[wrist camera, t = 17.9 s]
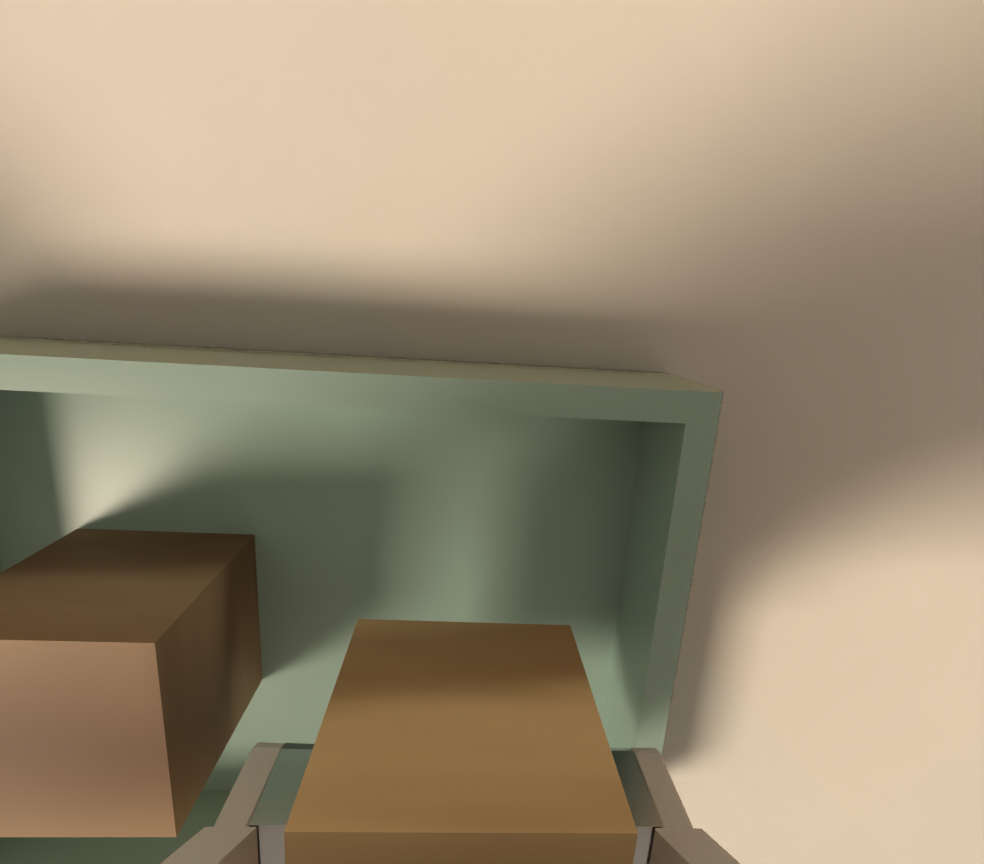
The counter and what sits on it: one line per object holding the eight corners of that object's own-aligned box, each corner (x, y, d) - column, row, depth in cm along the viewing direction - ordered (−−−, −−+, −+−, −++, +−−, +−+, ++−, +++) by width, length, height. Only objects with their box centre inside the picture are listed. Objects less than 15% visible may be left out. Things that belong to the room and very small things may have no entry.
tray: (-48, 334, 13) (-208, 342, 10) (667, 372, 14) (723, 392, 11) (39, 790, 16) (-60, 902, 13) (607, 792, 17) (637, 896, 14)
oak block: (357, 619, 11) (284, 831, 6) (569, 624, 11) (637, 833, 7) (357, 793, 12) (293, 1077, 7) (551, 793, 12) (598, 1069, 8)
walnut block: (77, 528, 13) (-111, 636, 9) (254, 534, 14) (154, 643, 9) (98, 676, 14) (-61, 836, 10) (262, 678, 15) (176, 837, 10)
